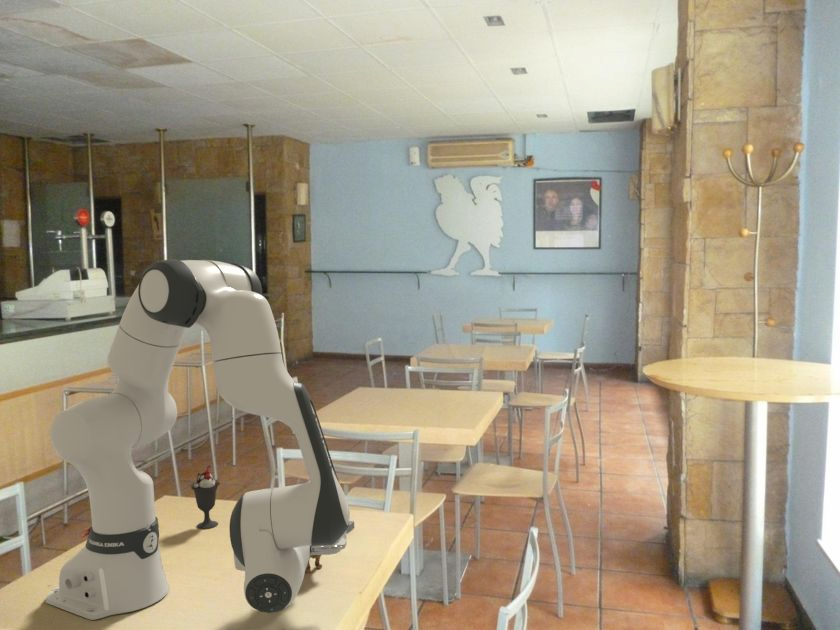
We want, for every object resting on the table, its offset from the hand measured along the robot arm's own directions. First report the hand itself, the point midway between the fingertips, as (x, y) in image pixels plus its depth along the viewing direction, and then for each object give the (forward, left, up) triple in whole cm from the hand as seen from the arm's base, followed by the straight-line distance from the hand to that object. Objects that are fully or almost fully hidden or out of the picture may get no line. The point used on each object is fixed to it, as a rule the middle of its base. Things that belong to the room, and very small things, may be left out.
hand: (295, 520), depth 136 cm
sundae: (-37, +22, -13) cm, 45 cm away
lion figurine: (-2, +10, -13) cm, 16 cm away
